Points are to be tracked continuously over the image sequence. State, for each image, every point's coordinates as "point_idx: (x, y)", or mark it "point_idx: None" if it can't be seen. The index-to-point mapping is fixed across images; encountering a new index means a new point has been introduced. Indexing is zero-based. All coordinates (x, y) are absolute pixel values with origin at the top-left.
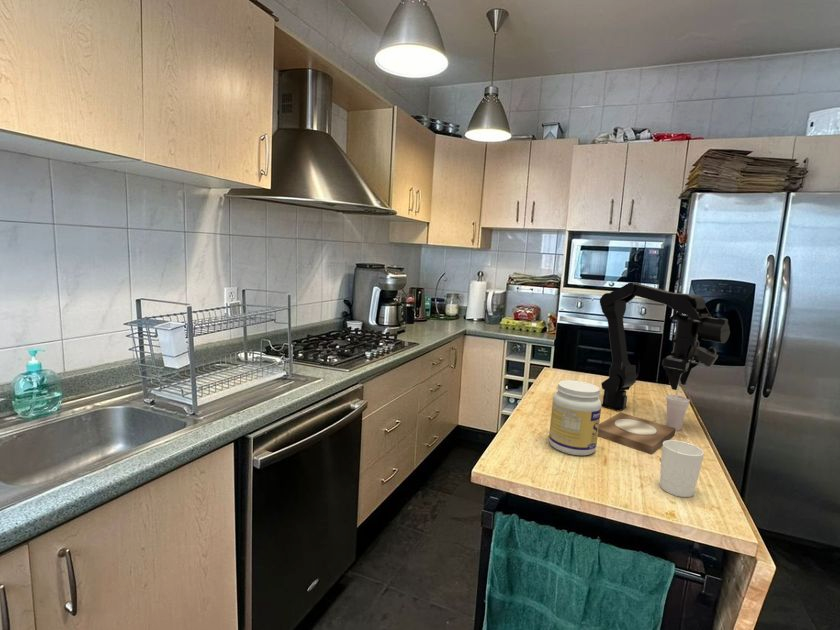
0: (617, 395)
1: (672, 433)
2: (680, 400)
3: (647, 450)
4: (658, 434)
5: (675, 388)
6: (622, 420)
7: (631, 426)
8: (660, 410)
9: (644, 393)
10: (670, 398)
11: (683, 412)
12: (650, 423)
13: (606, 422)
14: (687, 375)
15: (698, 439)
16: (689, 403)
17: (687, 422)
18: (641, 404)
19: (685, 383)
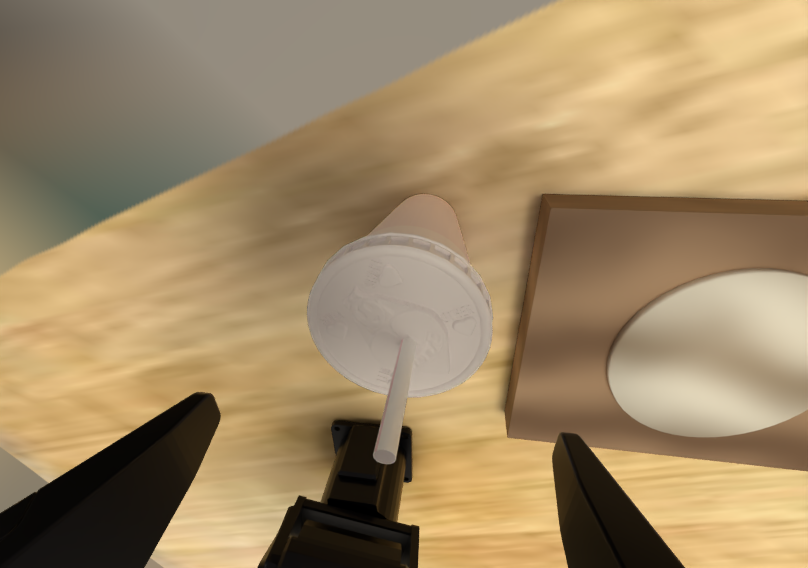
0: (389, 500)
1: (607, 203)
2: (439, 306)
3: None
4: (764, 253)
5: (588, 455)
6: (666, 419)
7: (746, 377)
8: (216, 324)
9: (86, 404)
10: (456, 369)
11: (441, 229)
12: (573, 322)
13: (725, 452)
14: (105, 499)
15: (495, 69)
16: (381, 235)
17: (251, 197)
18: (227, 388)
19: (198, 402)
